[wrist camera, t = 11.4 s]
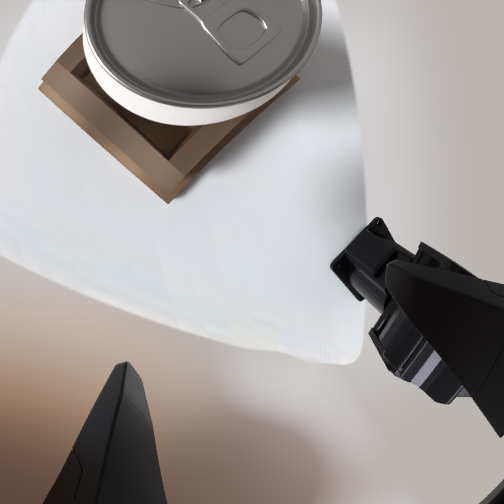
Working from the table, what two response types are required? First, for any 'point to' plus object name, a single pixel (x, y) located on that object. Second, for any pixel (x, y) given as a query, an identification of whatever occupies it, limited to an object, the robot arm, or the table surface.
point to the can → (197, 54)
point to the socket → (139, 127)
